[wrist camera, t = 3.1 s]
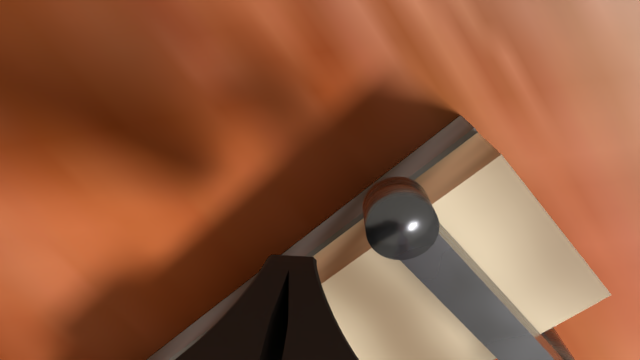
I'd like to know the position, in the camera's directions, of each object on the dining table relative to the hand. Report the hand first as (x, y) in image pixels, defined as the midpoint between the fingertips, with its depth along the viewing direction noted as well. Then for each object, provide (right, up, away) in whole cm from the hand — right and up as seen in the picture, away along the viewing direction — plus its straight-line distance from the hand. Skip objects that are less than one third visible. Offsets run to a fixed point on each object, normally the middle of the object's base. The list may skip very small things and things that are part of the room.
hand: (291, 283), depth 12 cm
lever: (+6, +1, +4) cm, 7 cm away
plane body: (-1, -4, +7) cm, 8 cm away
